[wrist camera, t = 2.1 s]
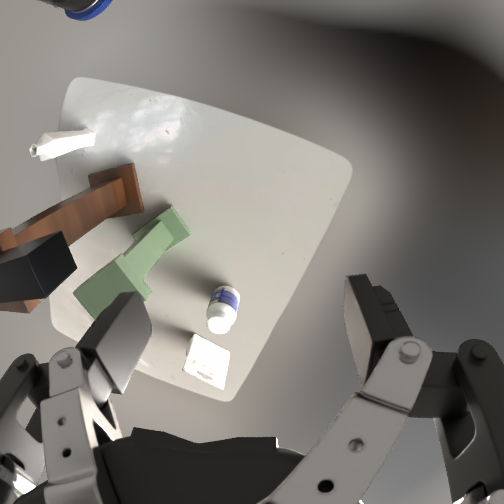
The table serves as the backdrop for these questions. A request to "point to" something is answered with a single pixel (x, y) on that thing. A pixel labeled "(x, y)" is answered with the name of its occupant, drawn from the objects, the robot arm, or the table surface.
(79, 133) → the white faceted vase
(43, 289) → the bar
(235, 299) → the pill bottle
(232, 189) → the table surface
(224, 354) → the ink box
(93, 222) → the tall stand
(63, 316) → the table surface
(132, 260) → the green piece
